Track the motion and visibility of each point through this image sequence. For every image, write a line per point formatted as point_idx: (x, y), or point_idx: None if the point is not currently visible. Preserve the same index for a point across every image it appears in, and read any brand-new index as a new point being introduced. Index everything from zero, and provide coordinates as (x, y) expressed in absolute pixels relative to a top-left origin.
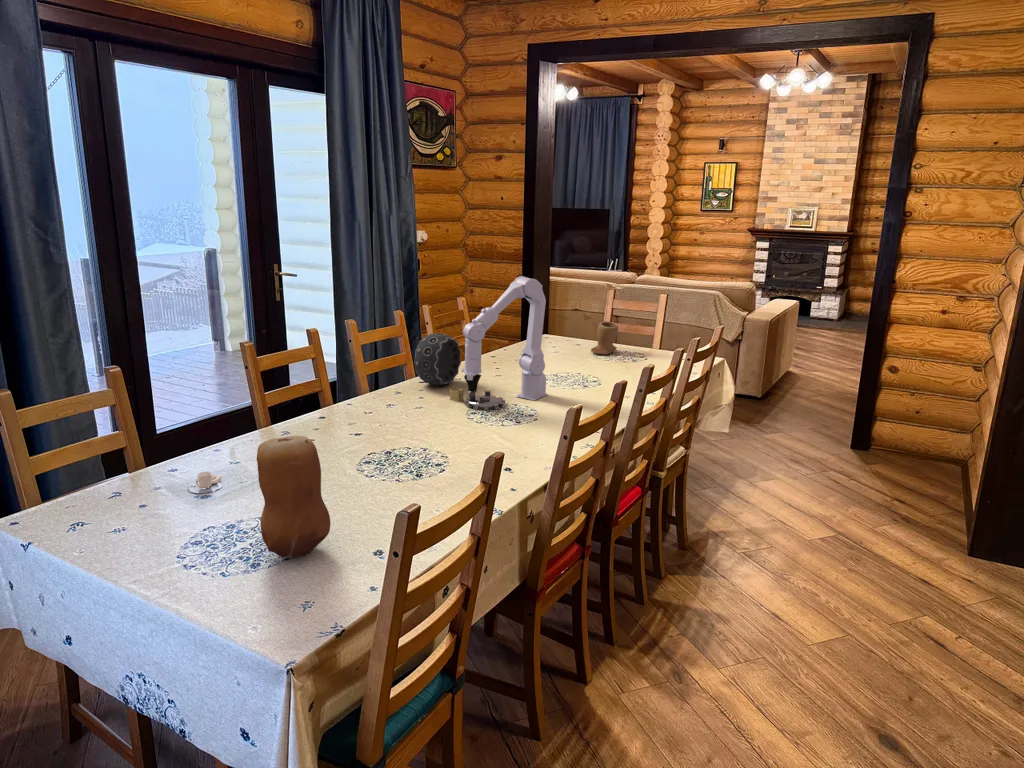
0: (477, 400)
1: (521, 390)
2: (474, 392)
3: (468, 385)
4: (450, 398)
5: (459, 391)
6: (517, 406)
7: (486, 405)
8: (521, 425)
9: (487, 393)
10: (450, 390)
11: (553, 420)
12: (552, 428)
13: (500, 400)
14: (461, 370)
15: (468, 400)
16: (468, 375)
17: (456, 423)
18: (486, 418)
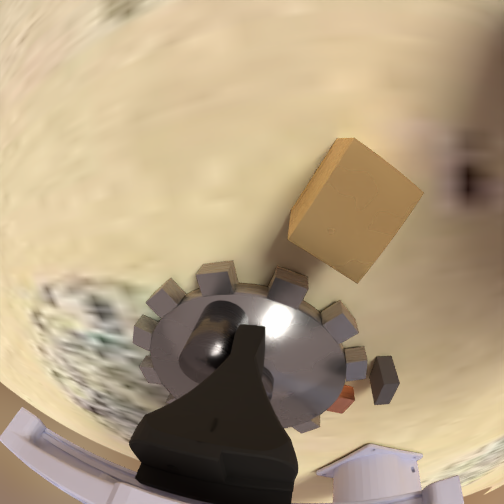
0: None
1: (375, 468)
2: (192, 376)
3: (212, 379)
4: (336, 142)
5: (300, 245)
6: None
7: (158, 377)
8: (80, 408)
9: (377, 387)
10: (348, 144)
11: None
12: (99, 443)
13: None
14: (114, 497)
15: (223, 298)
16: (9, 442)
17: (4, 249)
18: (74, 347)
